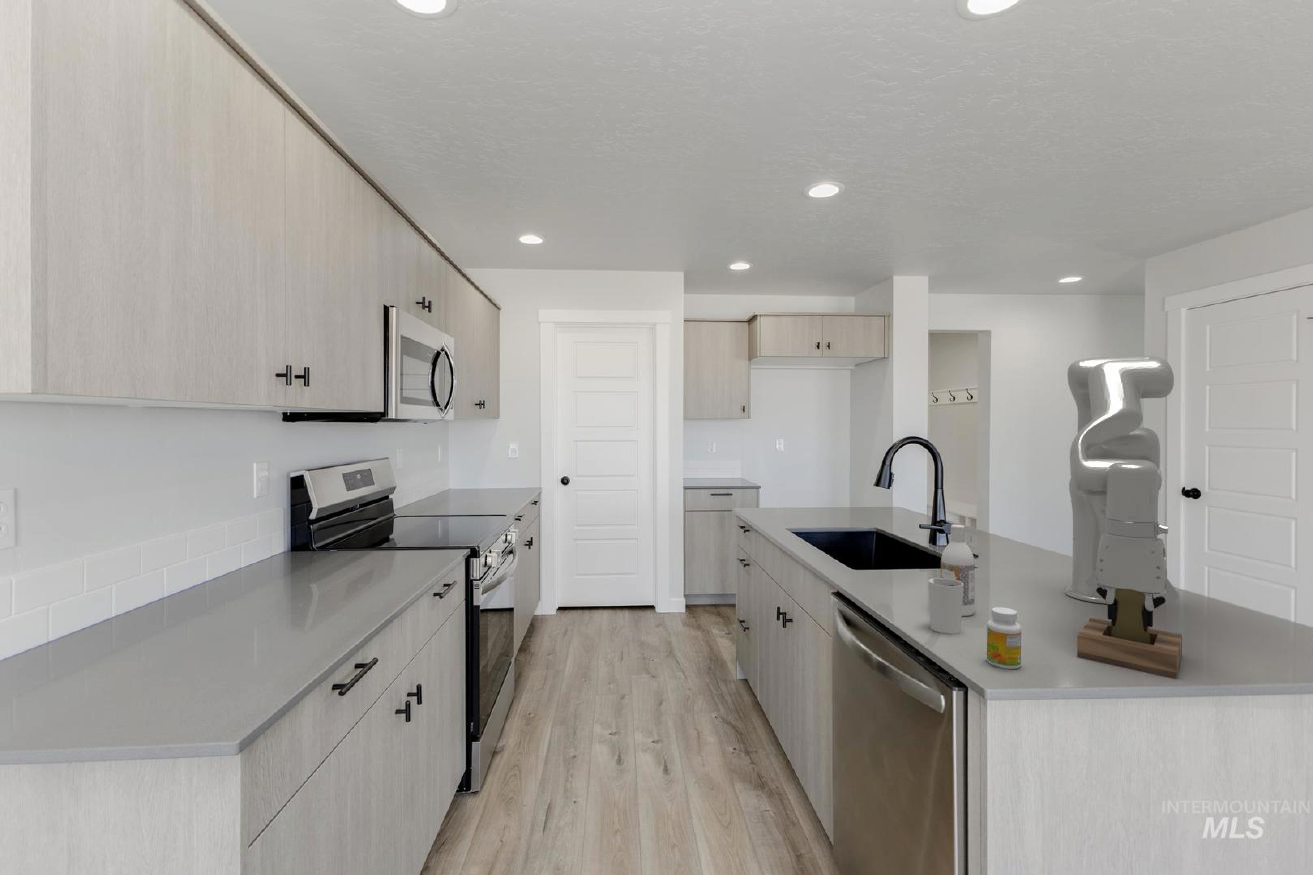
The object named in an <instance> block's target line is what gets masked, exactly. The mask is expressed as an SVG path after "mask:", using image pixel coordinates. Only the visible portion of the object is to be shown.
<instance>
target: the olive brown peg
mask: <svg viewBox="0 0 1313 875" xmlns="http://www.w3.org/2000/svg"><path fill="white" fill-rule="evenodd" d="M1115 599H1116V600H1117V615H1116V623H1115V626H1113V629H1112V635H1111V637H1114V638H1119V639H1124V640H1129V641H1134V642H1140V643H1145V644H1150V645H1151V641H1150V635H1149V629H1148V628H1149V627H1148V626H1147V632H1145V631H1144V628H1143V619H1142V610H1144V605H1145V600H1146V597H1145V594H1144V593H1142V592H1139V591H1135V590H1132V589H1116V590H1115Z"/></svg>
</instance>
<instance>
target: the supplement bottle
mask: <svg viewBox="0 0 1313 875" xmlns="http://www.w3.org/2000/svg"><path fill="white" fill-rule="evenodd" d="M991 618H992V619H989V620H988V621H987V624H986V661H987V662H988V664H990V665H992V666H994V667H998V668H1001V669H1006V670H1015V669H1019V668H1020V667H1021V665H1022V627H1021V624H1019V623H1017V622H1016V621H1017V620H1018V612H1017V610H1014V609H1012V608H1008V607H1001V606H999V607H998V606H997V607H992V609H991Z"/></svg>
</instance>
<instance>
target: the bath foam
mask: <svg viewBox="0 0 1313 875" xmlns="http://www.w3.org/2000/svg"><path fill="white" fill-rule="evenodd" d="M974 557H975V556H974V554H973V551H972V550H971V548H970V547H969V545H968V543H966V526H965V525H962V524H951V526H950V541H949V543H948V544H947V545H946V546H945V548H944V549H943V551H942V554H941V559H940V578H946V579H953V580H957V581H960V582H962V583H963V601H962V617H968V616H972V615H974V613H975V595H976V594H975V588H976V587H975V585H976V583H975V580H976V578H975V577H976V576H975V574H976V572H975V571H976V566H975V565H976V563H975V562H976V561H975V558H974Z"/></svg>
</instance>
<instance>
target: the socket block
mask: <svg viewBox="0 0 1313 875" xmlns="http://www.w3.org/2000/svg"><path fill="white" fill-rule="evenodd" d="M1111 622H1112V620H1105V619H1101V618H1095V617H1090V618H1089V619H1088V620H1087V622H1086V623H1085V625H1084V626H1083V627H1082V628H1081V630H1080V631H1079V632H1078V634H1077V636H1076V638H1077V641H1076V642H1077V643H1076V645H1077V646H1076V647H1077V649H1076V652H1077V653H1076V654H1077V656H1076V657H1077V658H1082V659H1087V660H1091V661H1095V662H1100V663H1105V664H1108V665H1109V664H1110V665H1113V666H1117V667H1122V668H1123V667H1124V668H1127V669H1132V670H1136V671H1140V672H1145V673H1150V674H1154V675H1158V676H1164V677H1168V678H1172V679H1177V677H1178V673H1179V668H1180V664H1181V660H1182V656H1183V655H1182V654H1183V652H1182V651H1183V633H1177V632H1171V631H1167V630H1166V631H1165V630H1160V629H1156V628H1155V629H1154V628H1151V627H1148V629H1149V635H1150V641H1151V645H1150V644H1145V643H1140V642H1134V641H1129V640H1124V639H1119V638H1114V637H1111V635H1112V629H1113V626H1112V625H1111Z"/></svg>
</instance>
